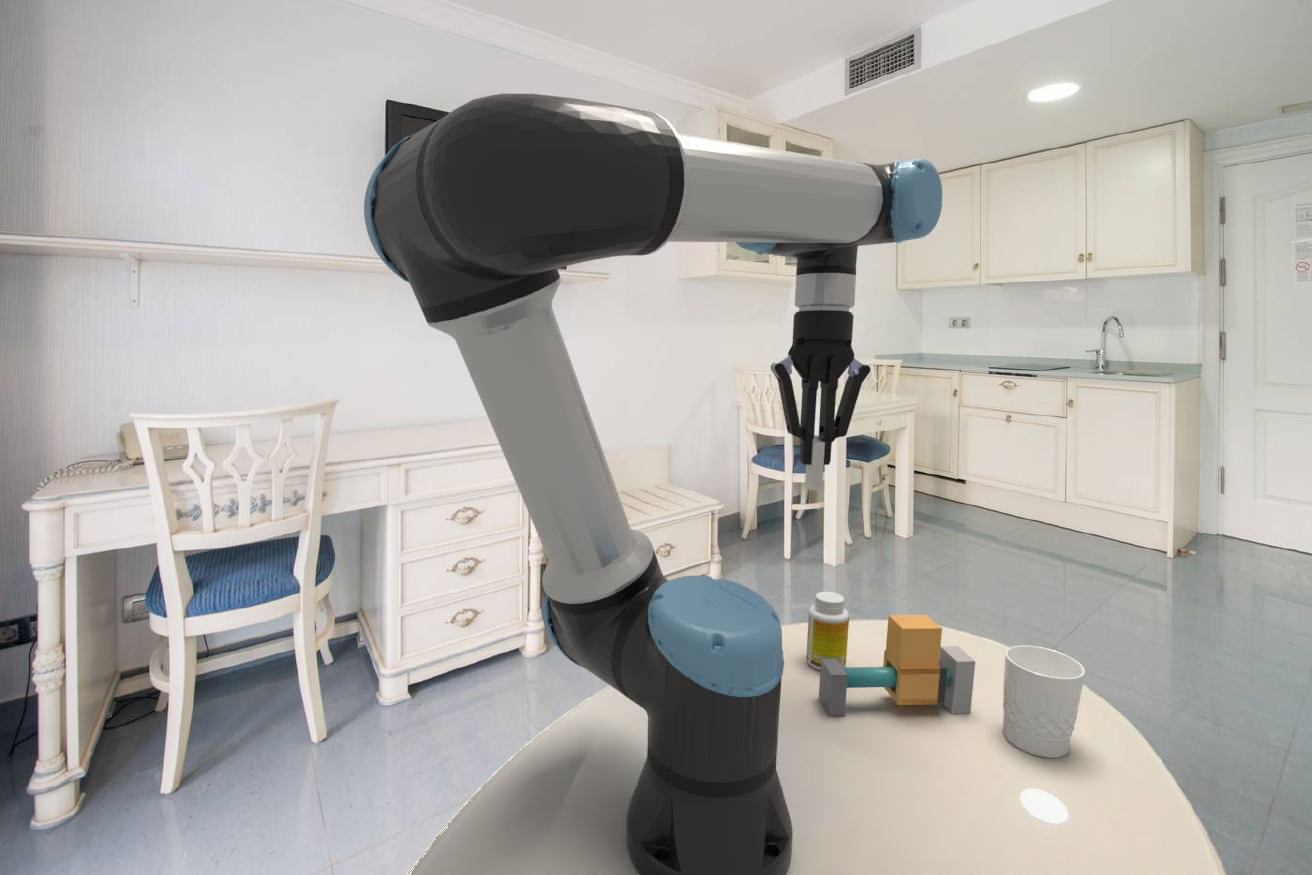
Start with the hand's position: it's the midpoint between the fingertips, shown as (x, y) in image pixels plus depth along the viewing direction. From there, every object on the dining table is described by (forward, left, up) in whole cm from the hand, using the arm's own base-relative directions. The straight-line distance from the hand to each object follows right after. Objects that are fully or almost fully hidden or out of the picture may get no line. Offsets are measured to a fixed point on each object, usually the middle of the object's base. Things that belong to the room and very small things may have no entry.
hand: (813, 488), depth 86 cm
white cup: (+23, -17, -27) cm, 39 cm away
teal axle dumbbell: (+9, -9, -26) cm, 29 cm away
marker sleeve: (+11, -9, -25) cm, 29 cm away
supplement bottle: (+4, +2, -27) cm, 27 cm away
